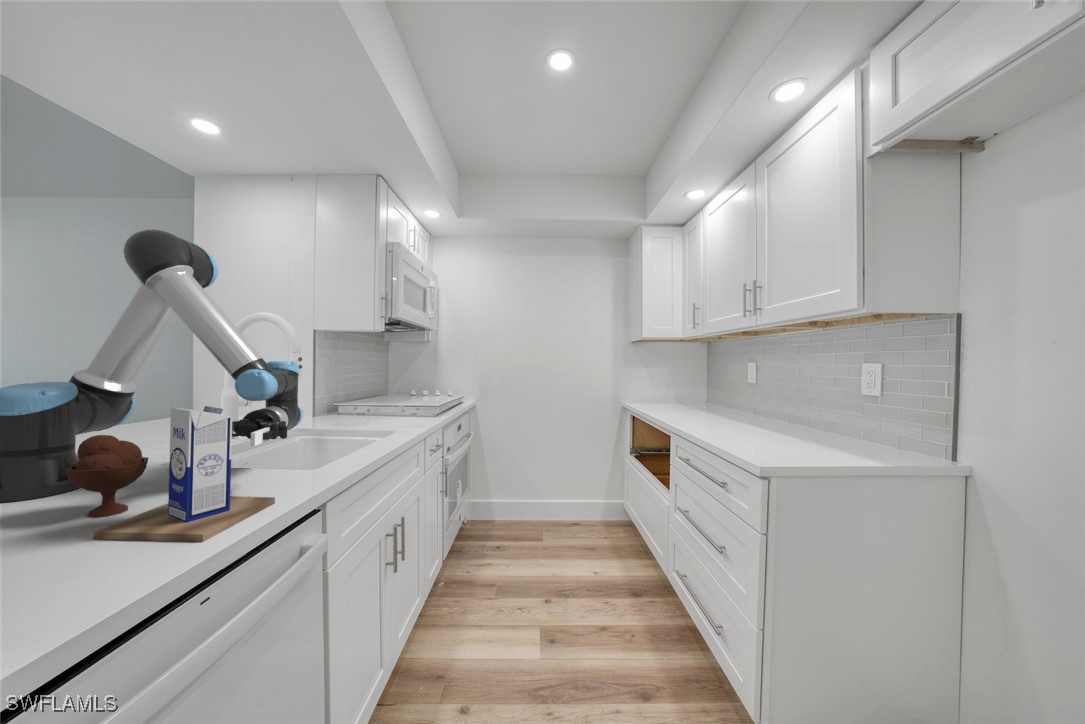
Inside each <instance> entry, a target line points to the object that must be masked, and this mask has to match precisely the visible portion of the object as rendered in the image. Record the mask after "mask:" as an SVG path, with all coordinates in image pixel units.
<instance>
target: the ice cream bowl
mask: <svg viewBox="0 0 1085 724" xmlns="http://www.w3.org/2000/svg"><path fill="white" fill-rule="evenodd" d="M76 454H77V456H78V458H79V461H78V463H77V464H74V465H70V466H68V468H67V469H66V474H67V477H68V479H69V480H70V481H71V483H72V484H74V485H76V486H78V487H79V488H78V489H82V490H85V491H88V492H94V493H99V494H100V495H101V497H102V498H101V504H100V505H98V506H96V507H95V508H92V509H91V510H89V512H88V513H87V515H86V518H91V517H92V518H91V519H93V518H94V519H97V518H107V517H111V516H115V515H116V516H117V515H120V514H122V513H124V512H127V511H129V506H128V505H127V504H123V503H120V502H117V501H116V493H117V491H118V490H120V489H123V488H125V487H128V486H129V485H132V483H134V482H136V480H138V479H139V478H141V476H142V475H143V474H144V473H145V470H146V468H147V466H148V462H149V457H146V456H145V457H144V456H143V452H142V449H141V448H140V447H139V446H138V445H137V444H135V443H134V442H132V441H128V440H121V439H119V438H117V437H116V436H113V435H111V434H110V435H107V434H98V435H92V436H90V437H88V438H86V439H85V440H83V441H82V442H81V443H80V444H79V445H78V449H77V452H76Z"/></svg>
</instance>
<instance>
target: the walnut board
mask: <svg viewBox="0 0 1085 724" xmlns="http://www.w3.org/2000/svg"><path fill="white" fill-rule="evenodd" d="M275 503H276V497H275V496H273V497H271V496H231V495H230V511H226V512H222V513H219V514H215V515H212V516H208V517H205V518H201V519H198V520H194V521H190V522H184V521H182V520H179V519H177V518H174V517H172V516H169V515H168V503H165V504H163V505H160V506H157V507H154V508H152V509H150V510H147V511H145V512H142V513H139V514H136V515H134V516H131V517H128V518H125V519H123V520H121V521H118V522H116V523H113V524H110V525H107V526H105V527H103V528H100V529H97V530H95V531H93V535H92V536H93V537H92V539H93V540H110V541H111V540H113V541H114V540H118V541H120V540H121V541H124V540H125V541H157V542H158V541H160V542H164V541H166V542H198V543H199V542H201V543H202V542H205V541H207V540H208V539H211V538H212V537H214V536H216V535H218V534H220V533H222V532H224V531H225V530H228V529H229V528H231V527H233V526H235V525H237V524H239V523H240V522H242V521H245V520H246V519H248V518H250V517H252V516H253V515H255V514H258V513H260V512H261V511H263V510H265V509H267V508H268V507H270V506H273V505H274V504H275Z"/></svg>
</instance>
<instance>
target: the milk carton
mask: <svg viewBox="0 0 1085 724" xmlns="http://www.w3.org/2000/svg"><path fill="white" fill-rule="evenodd" d="M223 410H224V409H223V408H219V407H214V406H208V405H205V406H204V408H203V411H202V410H195V409H189V408H177V407H176V408H175V407H170V423H169V428H170V429H169V431H170V432H169V433H170V434H169V435H170V436H169V467H168V469H169V471H168V473H169V474H168V475H169V476H168V503H167V504H168V515H169V516H172V517H174V518H177V519H179V520H182V521H184V522H190V521H194V520H198V519H201V518H205V517H208V516H212V515H215V514H219V513H222V512H226V511H230V496H231V481H232V476H231V475H232V445H233V444H232V442H233V441H232V439H233V437H232V421H233V416H232V415H226V414H222V413H223Z"/></svg>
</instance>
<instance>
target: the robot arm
mask: <svg viewBox="0 0 1085 724" xmlns="http://www.w3.org/2000/svg"><path fill="white" fill-rule="evenodd" d="M123 256H124V260H125V262H126V264H127V265H128V267H129V269H130V270H131V271H132V272H133V274H134V275H135V276H136V278H137V280H138V282H139V283H140V285H139V288H138V289H137V291H136V293H134V296H132V299H131V300H130V302H129V303H128V305H127V306H126V308H125V310H124V311H123V312H122V314H121V316H120V317H119V319H118V321H116V323H115V325H114V326H113V328H112V330H111V331H110V333H109V334H108V336H107V337H106V338H105V340H104V342H103V343H102V345H101V346H100V348H99V350H98V352H97V353H96V354H95V356H94V358H93V359H92V360H91V363H90V364H89V365H88V367H87V368H86V369H85V368H84V369H81V370H78V371H75V372H74V373H73V375H71V378H70V379H69V380H68V381H41V382H32V383H21V384H14V385H13V384H11V385H8V386H4V387H0V503H7V502H18V501H26V500H33V499H38V498H45V497H48V496H49V497H50V496H55V495H58V494H62V493H66V492H70V491H73V490H77V489H80V488H79V487H78V486H76V485H74V484H72V483H71V481H70V480H69V479H68V477H67V474H66V469H67V468H68V466H70V465H74V464H77V463H78V461H79V458H78V455H77V452H76V443H77V442H76V438H77V437H76V436H77V435H83V434H87V433H88V434H89V433H92V432H100V431H104V430H108V429H111V428H113V427H116V426H118V425H120V424H122V423H124V422H125V421H126V420H128V419H129V418H130V416H131V415H132V414H133V413H134V411H135V408H136V400H135V396H134V394H135V393H136V390H137V386H136V384H135V383H134V380H135V379H136V377H137V375H138V374H139V372H140V370H141V369H142V367H143V366H144V364H145V362H146V361H147V359H148V358H149V356H150V354H152V351H153V350H154V348H155V346H156V345H157V343H158V342H159V341H160V339H161V337H162V336H163V334H164V332H165V331H166V329H167V327H168V326H169V324H170V323H171V321H172V319H173V318H174V316H175V315H177V316H178V317H179V318H180V320H181V321H182V322H183V323H184V324H185V325H186V326H187V327H188V329H189V330H190V331H191V332H192V333H193V334H194V336H195V337H196V338H197V339H198V340H199V341H200V342H201V343H202V345H203V346H204V347H205V348H206V349H207V350H208V352H209V353H211V355H212V356H213V357H214V358H215V360H217V362H218V363H219V365H221V366H222V367H223V368H224V369H225V371H227V373H228V374H229V375H230V377H232V379H233V380H234V388H235V391H236V394H237V395H238V396H239V397H240V398H241V399H244V400H245V401H249V402H262V401H265V407H263V408H259V409H255V410H252V411H250V412H248V413H247V414H245V416H244V417H243V418H242V419H239V420H234V421H233V420H232V438H234V437H235V438H236V437H246V438H247V439H249V440H250V447H255V446H258V445H260V444H263V443H265V442H267V441H269V440H276V439H277V438H278V437H280V439H283V440H284V439H288V431H290V430H292V429H293V428H295V427H297V426H298V425H299V424H300V423H302V422H301V421H303V417H304V413H303V412H304V411H303V409H302V408H301V406H300V405H299V398H298V396H299V375H300V373H299V366H298V365H299V364H298V362H296V361H289V360H287V361H285V360H279V361H277V360H276V361H275V360H272V361H271V360H270V361H267V362H266V361H265V360H264V358H263V357H262V356H261V355H260V354H259V352H258V351H257V350H256V349H255V348H254V347H253V345H252V344H251V343H250V342H249V341H248V339H247V338H246V337H245V336H244V335H243V333H241V331H240V330H239V329H238V327H236V325H235V324H234V323H233V322H232V321H231V319H230V318H229V316H227V315H226V314H225V312H224V311H223V310H222V309H221V308H220V306H219V305H218V304H217V303H216V302H215V300H214V299H213V298H212V297H211V296H210V294H208V292H207V291H206V290H205V289H206V288H209V287H210V286H211V285H213V284H214V283H215V282H216V280H217V277H218V274H219V269H218V265H217V262H216V260H215V258H214V257H213V256H212V255H211V254H210V253H209V252H208V251H207V250H205V249H204V248H202V247H201V246H199V245H198V244H195V243H192V242H190V241H188V240H186V239H184V238H181V237H179V236H177V235H174V234H173V233H170V232H168V231H164V230H159V229H145V230H141V231H137V232H135V233H133V234H132V235H130V236H129V238H128V239H126V241H125V243H124V246H123Z"/></svg>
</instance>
